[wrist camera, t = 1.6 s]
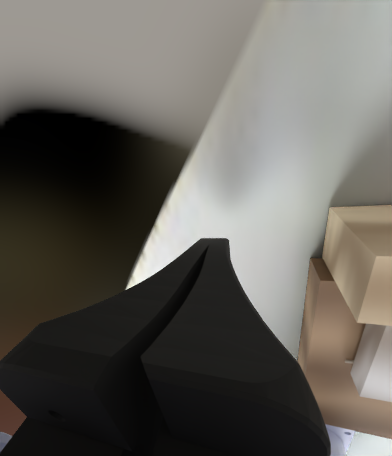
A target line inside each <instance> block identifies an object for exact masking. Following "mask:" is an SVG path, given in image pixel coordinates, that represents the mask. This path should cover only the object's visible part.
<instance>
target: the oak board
mask: <svg viewBox="0 0 392 456" xmlns="http://www.w3.org/2000/svg"><path fill="white" fill-rule="evenodd" d="M365 325H366V323H357V321H356V320H355V318H354V316H353V314H352V312H351V310H350V308H349V307H348V305H347V303H346V301H345V299H344V297H343V295H342V293H341V292H340V290H339V288H338V286H337V284H336V282H335V280H334V278H333V277H332V275H331V273H330V271H329V269H328V267H327V265H326V264H325V262H324V260H323V258H310V265H309V273H308V281H307V289H306V297H305V305H304V313H303V321H302V329H301V337H300V345H299V353H298V361H297V362H298V363H299V364H300V367H301V369H302V371H303V373H304V375H305V377H306V379H307V381H308V383H309V385H310V387H311V390H312V392H313V394H314V396H315V399H316V401H317V403H318V406H319V409H320V411H321V414H322V417H323V419H324V422H325V424H326V425H331V426H335V427H340V428H344V429H349V430H353V431H358V432H362V433H367V434H371V435H376V436H380V437H385V438H389V439H392V402H388V401H382V400H377V399H371V398H366V397H360V396H359V393H358V391H357V388H356V386H355V383H354V381H353V378H352V376H351V373H350V372H351V369H352V366H353V363H354V360H355V357H356V353H357V350H358V347H359V344H360V341H361V337H362V334H363V331H364V328H365Z"/></svg>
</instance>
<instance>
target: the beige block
mask: <svg viewBox="0 0 392 456" xmlns="http://www.w3.org/2000/svg"><path fill="white" fill-rule="evenodd" d="M322 258H323V260H324V262H325V264H326V265H327V267H328V269H329V271H330V273H331V275H332V277H333V278H334V280H335V282H336V284H337V286H338V288H339V290H340V292H341V293H342V295H343V297H344V299H345V301H346V303H347V305H348V307H349V308H350V310H351V312H352V314H353V316H354V318H355V320H356V321H357V323H366V325H365V328H364V331H363V334H362V337H361V341H360V344H359V347H358V350H357V353H356V357H355V360H354V363H353V366H352V369H351V372H350V373H351V376H352V378H353V381H354V383H355V386H356V388H357V391H358V393H359V396H360V397H366V398H371V399H377V400H382V401H388V402H392V205H377V206H351V207H330V208H329V215H328V221H327V228H326V234H325V241H324V247H323V254H322Z"/></svg>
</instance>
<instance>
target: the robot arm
mask: <svg viewBox="0 0 392 456" xmlns="http://www.w3.org/2000/svg"><path fill="white" fill-rule="evenodd" d="M0 389H1V391H2V392H3V393H4V394H5V395H6V396H7V397H8V398H9V399H10V400H11V401H12V402H13V403H14V404H15V405H16V406H17V407H18V408H19V409H20V410H21V411H22V412H23V413H24V414H25V415H26V416H27V418H26V419H25V421H24V422H23V423H22V425H21V426H20V427H19V428H18V430H17V431H16V433H15V434H14V435H13V436H11V435H8V434H5V433H3V432H0V456H347V455H346V453H347V450H348V448H349V445H350V443H351V441H352V438H353V436H354V434H355V431H353V430H349V429H344V428H340V427H335V426H331V425H326V424H325V422H324V419H323V417H322V414H321V411H320V409H319V406H318V403H317V401H316V399H315V396H314V394H313V392H312V390H311V387H310V385H309V383H308V381H307V379H306V377H305V375H304V373H303V371H302V369H301V367H300V364H299V363H298V362H297V361H296V359H295V358H294V357H293V356H292V355H291V354H290V353H289V352H288V350H287V349H286V348H285V347H284V346H283V345H282V343H281V342H280V341H279V340H278V339H277V337H276V336H275V335H274V334H273V332H272V331H271V330H270V329H269V327H268V326H267V325H266V323H265V322H264V321H263V319H262V318H261V317H260V315H259V314H258V312H257V311H256V309H255V308H254V306H253V305H252V303H251V302H250V300H249V299H248V297H247V295H246V294H245V292H244V290H243V288H242V286H241V284H240V282H239V280H238V278H237V276H236V274H235V271H234V269H233V266H232V263H231V260H230V248H229V240H228V239H227V238H201V239H200V240H199V241H197V242H196V243H195V244H194V245H192V246H191V247H190V248H189V249H188V250H186V251H185V252H184V253H183V254H182V255H180V256H179V257H178V258H177V259H175V260H174V261H173V262H171V263H170V264H168V265H167V266H166V267H164V268H163V269H162V270H160V271H159V272H157V273H156V274H154V275H152V276H151V277H149V278H147V279H146V280H144V281H142V282H141V283H139V284H137V285H135V286H133V287H131V288H129V289H127V290H125V291H123V292H121V293H119V294H118V295H115V296H113V297H111V298H108V299H106V300H104V301H102V302H99V303H97V304H94V305H92V306H89V307H87V308H84V309H82V310H79V311H76V312H73V313H70V314H67V315H64V316H61V317H58V318H56V319H53V320H50V321H47V322H43V323H40V324H39V325H38V326H36V327H35V328H34V329H33V330H32V331H31V332H30V333H29V334H28V335H27V336H26V337H25V338H24V339H23V340H22V341H21V342H20V343H19V344H18V345H17V346H15V347H14V348H13V349H12V350H11V351H10V352H9V353H8V354H7V355H6V356H5V357H4V358H3V359H2V360H1V361H0Z"/></svg>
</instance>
